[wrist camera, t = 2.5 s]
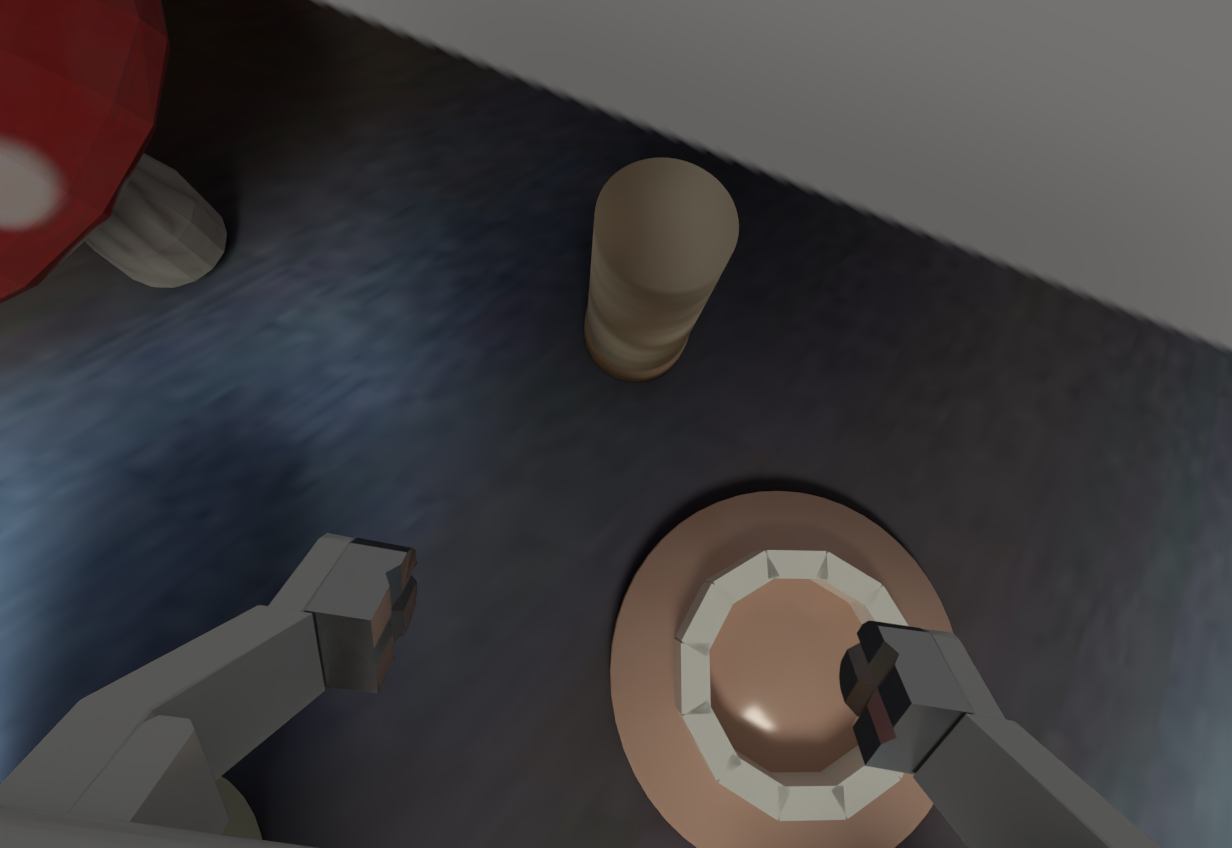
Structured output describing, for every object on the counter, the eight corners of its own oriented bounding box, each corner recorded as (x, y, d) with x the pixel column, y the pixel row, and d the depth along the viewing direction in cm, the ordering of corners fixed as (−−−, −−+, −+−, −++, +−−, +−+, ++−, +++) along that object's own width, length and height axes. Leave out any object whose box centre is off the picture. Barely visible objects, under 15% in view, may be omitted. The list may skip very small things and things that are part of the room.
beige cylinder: (683, 291, 29) (739, 160, 20) (684, 384, 28) (744, 293, 18) (585, 286, 29) (593, 150, 19) (582, 380, 28) (589, 285, 18)
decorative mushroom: (161, 476, 25) (-401, 364, 11) (-103, 290, 26) (-947, -47, 12) (387, 224, 29) (204, -112, 14) (150, 70, 30) (-246, -390, 15)
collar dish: (929, 496, 28) (960, 491, 26) (973, 866, 24) (1014, 897, 22) (612, 488, 27) (616, 482, 24) (605, 876, 23) (609, 910, 21)
